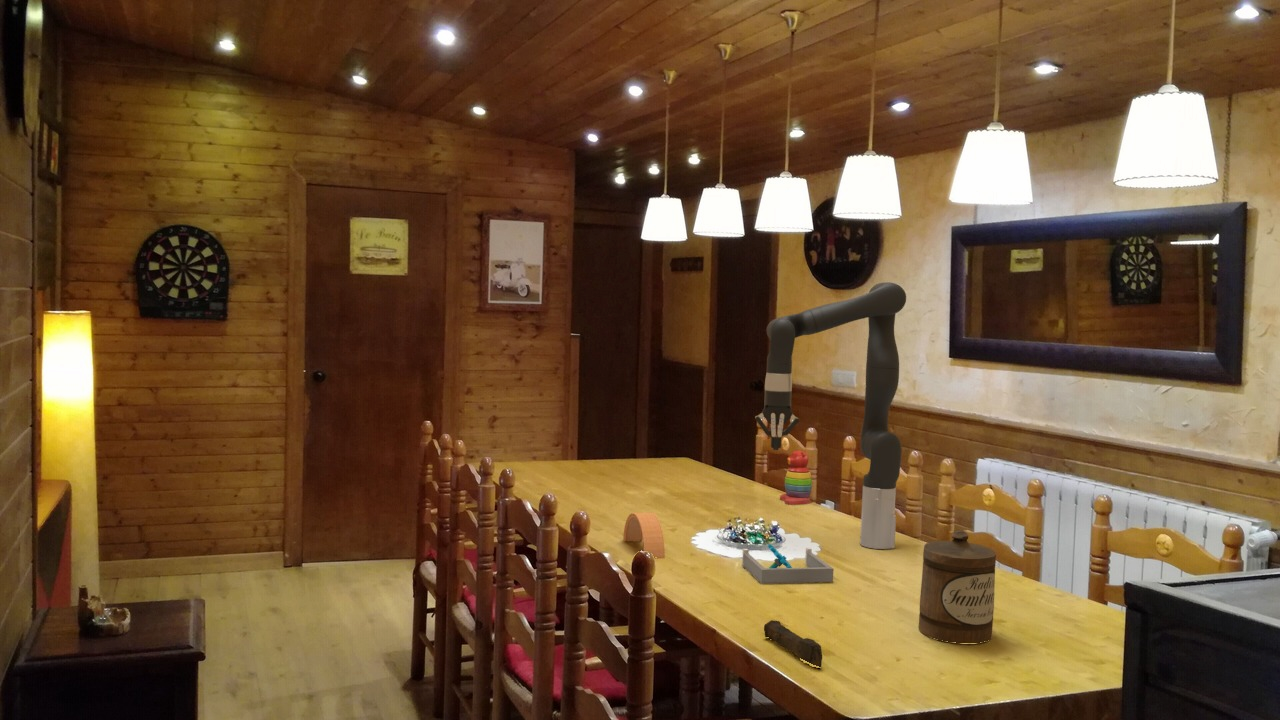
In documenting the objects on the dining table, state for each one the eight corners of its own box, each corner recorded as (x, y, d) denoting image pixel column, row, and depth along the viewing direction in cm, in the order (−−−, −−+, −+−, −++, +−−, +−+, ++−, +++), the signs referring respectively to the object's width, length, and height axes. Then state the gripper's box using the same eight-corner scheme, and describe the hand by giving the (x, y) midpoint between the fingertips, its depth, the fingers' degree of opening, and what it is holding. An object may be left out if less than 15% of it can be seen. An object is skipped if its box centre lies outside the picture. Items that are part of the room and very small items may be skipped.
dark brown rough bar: (762, 639, 204) (763, 617, 204) (780, 637, 205) (780, 615, 205) (807, 673, 186) (808, 649, 186) (826, 671, 188) (827, 647, 187)
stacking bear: (778, 498, 351) (780, 448, 350) (806, 498, 353) (808, 448, 351) (786, 504, 341) (788, 453, 340) (815, 505, 342) (817, 453, 341)
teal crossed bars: (799, 574, 247) (772, 544, 248) (782, 590, 247) (754, 560, 248) (797, 568, 258) (771, 539, 259) (780, 584, 258) (754, 555, 259)
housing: (742, 565, 260) (742, 548, 259) (809, 564, 263) (810, 547, 263) (761, 583, 243) (762, 566, 243) (832, 582, 247) (833, 564, 246)
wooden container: (955, 649, 201) (960, 541, 200) (903, 626, 214) (908, 525, 213) (1007, 639, 208) (1013, 535, 207) (955, 618, 221) (960, 520, 220)
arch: (643, 559, 263) (645, 522, 262) (623, 541, 282) (624, 506, 282) (664, 558, 265) (665, 521, 264) (642, 540, 284) (643, 506, 283)
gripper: (755, 389, 279) (752, 450, 280) (802, 391, 278) (800, 452, 279) (754, 387, 286) (751, 446, 287) (800, 388, 285) (798, 449, 286)
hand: (775, 449), depth 283 cm, fingers closed
